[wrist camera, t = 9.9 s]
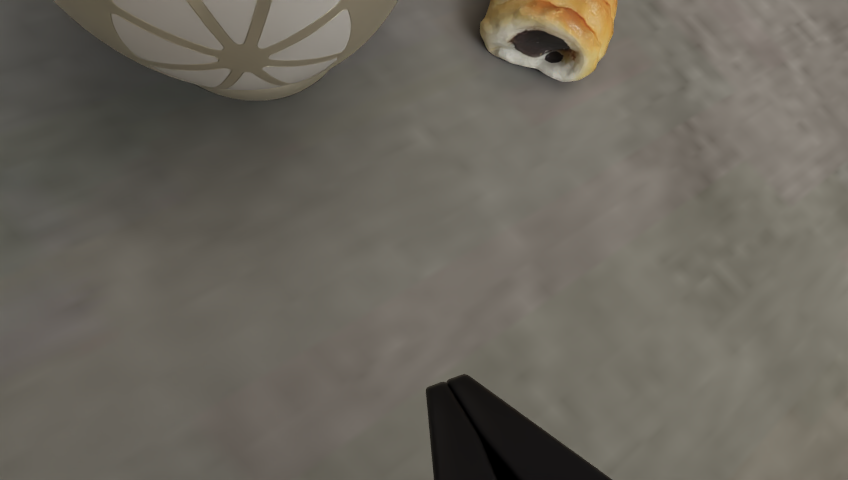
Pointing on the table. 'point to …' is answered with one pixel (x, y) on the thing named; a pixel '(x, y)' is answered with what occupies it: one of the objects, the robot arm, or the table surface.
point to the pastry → (550, 34)
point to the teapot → (234, 39)
